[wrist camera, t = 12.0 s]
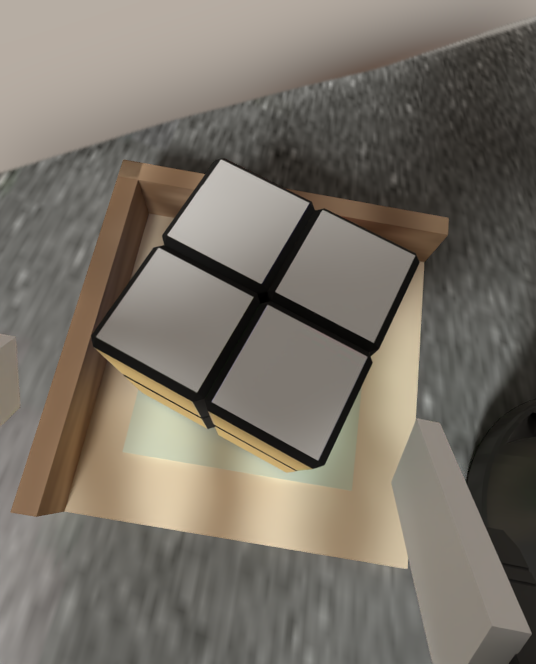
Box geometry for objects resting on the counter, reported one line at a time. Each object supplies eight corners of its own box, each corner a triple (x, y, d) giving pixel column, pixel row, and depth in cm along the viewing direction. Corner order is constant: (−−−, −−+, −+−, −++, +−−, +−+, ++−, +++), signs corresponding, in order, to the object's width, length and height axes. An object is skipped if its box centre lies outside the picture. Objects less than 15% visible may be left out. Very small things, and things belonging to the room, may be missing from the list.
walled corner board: (420, 252, 32) (448, 217, 27) (402, 566, 25) (435, 583, 21) (138, 202, 31) (123, 159, 27) (48, 506, 25) (10, 512, 21)
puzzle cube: (223, 256, 29) (217, 150, 20) (362, 328, 28) (426, 252, 19) (137, 391, 26) (82, 341, 17) (290, 475, 25) (323, 473, 16)
